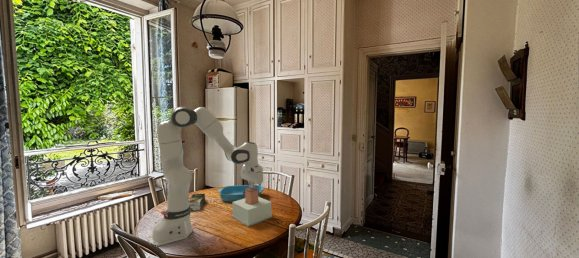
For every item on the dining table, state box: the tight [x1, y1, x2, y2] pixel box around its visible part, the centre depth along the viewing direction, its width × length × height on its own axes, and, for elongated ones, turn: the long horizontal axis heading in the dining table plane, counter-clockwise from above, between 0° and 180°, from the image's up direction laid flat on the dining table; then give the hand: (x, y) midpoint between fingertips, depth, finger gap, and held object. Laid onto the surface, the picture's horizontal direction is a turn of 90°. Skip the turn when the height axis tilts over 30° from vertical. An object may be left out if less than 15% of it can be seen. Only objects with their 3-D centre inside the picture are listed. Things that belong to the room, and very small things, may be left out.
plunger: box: [245, 187, 258, 205], centre depth 152 cm, size 6×6×12 cm
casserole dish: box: [217, 184, 265, 202], centre depth 188 cm, size 37×22×7 cm, turn 93°
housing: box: [231, 196, 273, 227], centre depth 152 cm, size 19×19×10 cm
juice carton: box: [189, 193, 206, 211], centre depth 173 cm, size 20×10×6 cm, turn 10°
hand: (251, 187), depth 151 cm, fingers closed
